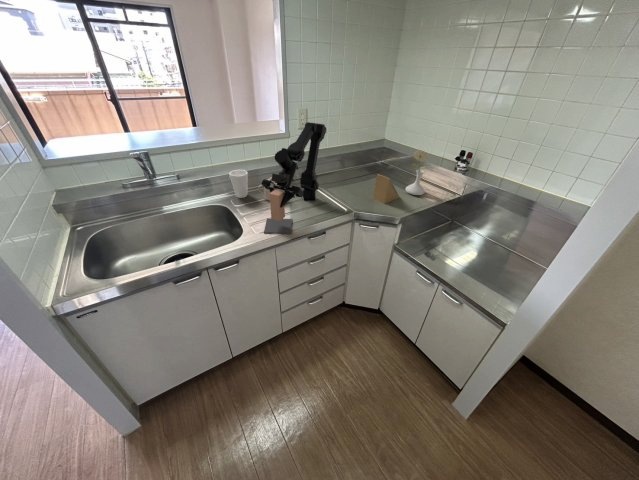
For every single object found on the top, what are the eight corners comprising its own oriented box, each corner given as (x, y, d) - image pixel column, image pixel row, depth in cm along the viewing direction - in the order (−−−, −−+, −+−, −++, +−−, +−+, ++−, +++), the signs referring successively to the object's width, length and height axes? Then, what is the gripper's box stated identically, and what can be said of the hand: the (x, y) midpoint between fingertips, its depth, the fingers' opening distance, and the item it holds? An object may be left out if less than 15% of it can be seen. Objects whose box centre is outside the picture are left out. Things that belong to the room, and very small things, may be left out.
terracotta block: (276, 214, 121) (275, 189, 114) (285, 216, 120) (284, 191, 113) (271, 218, 118) (269, 193, 111) (279, 221, 117) (278, 195, 109)
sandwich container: (400, 197, 154) (406, 172, 146) (384, 204, 146) (390, 178, 137) (388, 192, 159) (393, 168, 151) (372, 198, 151) (377, 173, 142)
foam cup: (234, 191, 150) (231, 169, 142) (251, 191, 150) (248, 169, 143) (231, 199, 142) (227, 176, 134) (248, 199, 143) (246, 176, 135)
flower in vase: (427, 194, 159) (440, 153, 145) (415, 198, 153) (428, 156, 139) (410, 186, 168) (421, 147, 153) (398, 190, 162) (408, 149, 148)
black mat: (291, 219, 127) (291, 218, 127) (290, 233, 117) (290, 232, 117) (266, 219, 126) (266, 218, 126) (263, 233, 116) (263, 232, 116)
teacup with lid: (281, 194, 150) (280, 174, 143) (280, 201, 142) (279, 181, 135) (260, 193, 149) (258, 174, 142) (257, 200, 142) (255, 180, 135)
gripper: (261, 161, 111) (248, 194, 109) (300, 169, 106) (287, 204, 104) (272, 172, 122) (261, 203, 120) (308, 180, 116) (297, 213, 114)
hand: (275, 206), depth 114 cm, fingers closed on terracotta block, 4 cm apart
